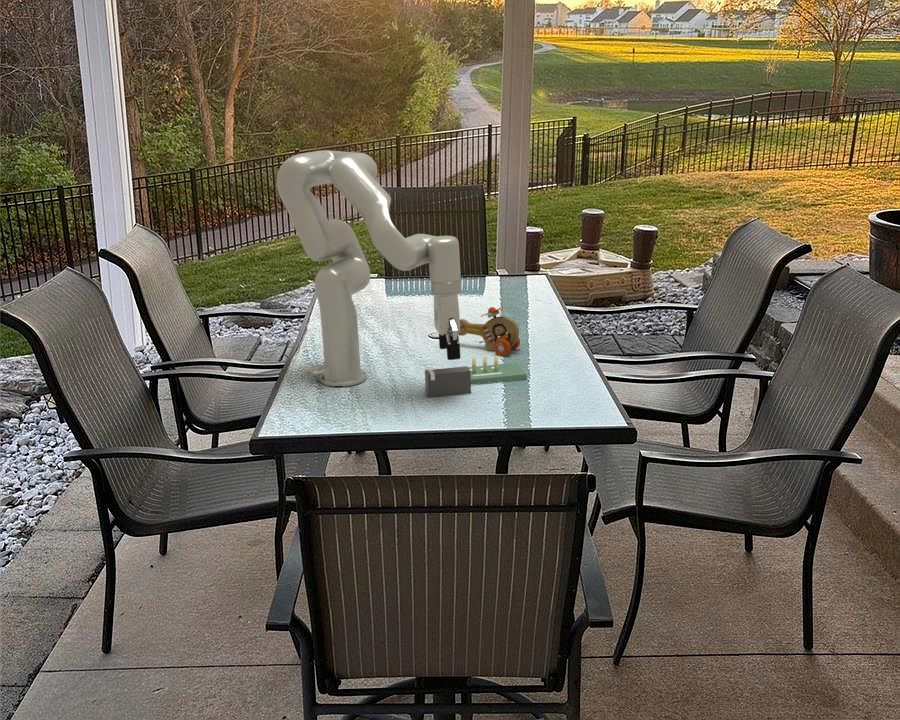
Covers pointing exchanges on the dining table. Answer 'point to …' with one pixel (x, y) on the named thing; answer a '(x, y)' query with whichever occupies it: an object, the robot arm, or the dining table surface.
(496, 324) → the toy helicopter
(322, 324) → the robot arm
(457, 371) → the block
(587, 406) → the dining table surface
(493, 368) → the header board
